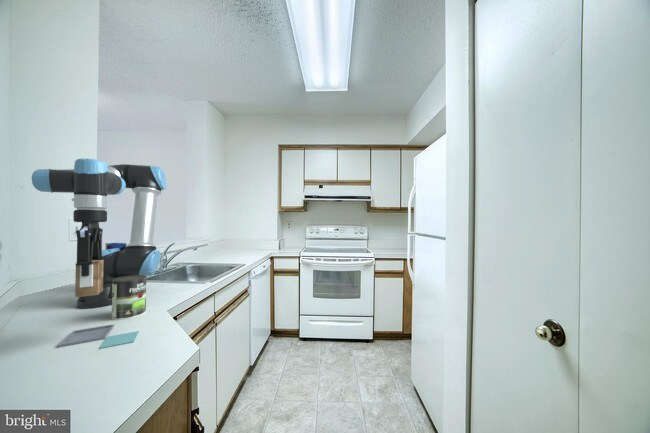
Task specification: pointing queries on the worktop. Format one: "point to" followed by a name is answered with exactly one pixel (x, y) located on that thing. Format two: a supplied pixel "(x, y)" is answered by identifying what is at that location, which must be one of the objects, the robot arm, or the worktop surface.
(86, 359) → the worktop surface
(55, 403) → the worktop surface
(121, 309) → the coffee can
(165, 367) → the worktop surface
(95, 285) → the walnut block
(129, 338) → the teal pad
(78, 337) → the gray tray
